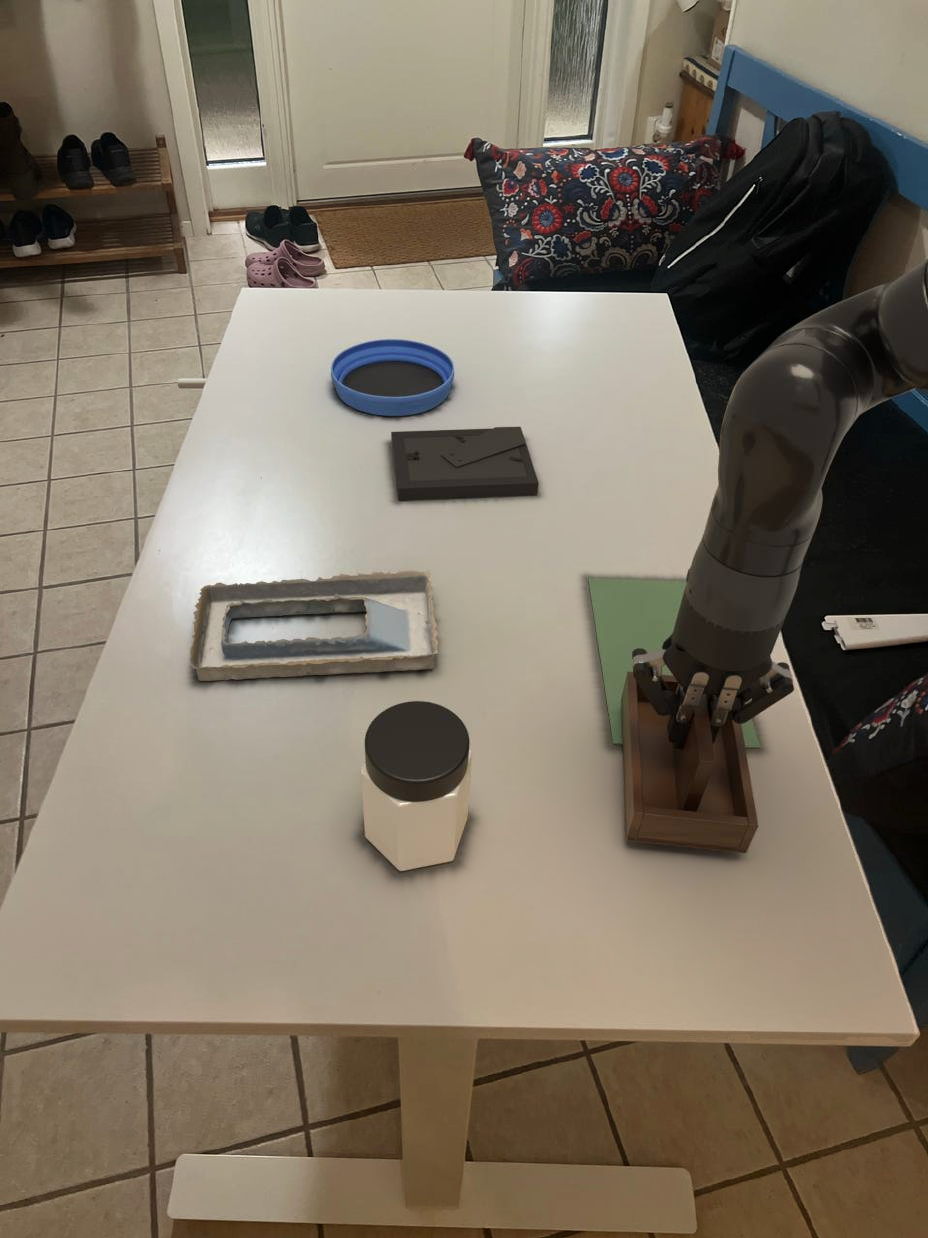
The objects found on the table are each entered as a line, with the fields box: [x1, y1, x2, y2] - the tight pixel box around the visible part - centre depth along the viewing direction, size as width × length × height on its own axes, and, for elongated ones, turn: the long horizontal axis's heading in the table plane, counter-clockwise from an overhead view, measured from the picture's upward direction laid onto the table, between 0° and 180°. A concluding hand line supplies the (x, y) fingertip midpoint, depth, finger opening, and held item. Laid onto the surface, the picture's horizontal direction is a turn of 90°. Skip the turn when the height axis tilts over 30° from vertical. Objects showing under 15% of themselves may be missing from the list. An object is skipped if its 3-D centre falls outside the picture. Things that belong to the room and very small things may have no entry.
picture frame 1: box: [189, 569, 440, 682], centre depth 92 cm, size 13×25×3 cm, turn 97°
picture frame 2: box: [390, 426, 540, 502], centre depth 116 cm, size 13×2×18 cm
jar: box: [360, 700, 473, 872], centre depth 72 cm, size 9×8×12 cm
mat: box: [587, 577, 761, 750], centre depth 93 cm, size 24×14×1 cm, turn 0°
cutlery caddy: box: [621, 671, 759, 854], centre depth 77 cm, size 16×10×9 cm, turn 174°
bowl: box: [330, 338, 455, 417], centre depth 131 cm, size 18×18×4 cm
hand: (688, 742), depth 77 cm, fingers closed on cutlery caddy, 1 cm apart
